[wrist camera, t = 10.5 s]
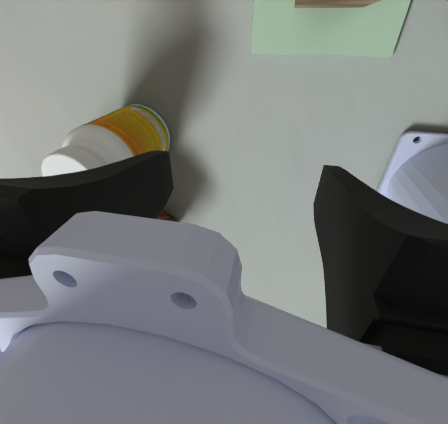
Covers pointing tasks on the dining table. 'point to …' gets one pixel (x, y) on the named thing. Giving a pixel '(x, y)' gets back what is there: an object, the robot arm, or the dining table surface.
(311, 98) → the dining table surface
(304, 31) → the tile
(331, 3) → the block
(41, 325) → the robot arm
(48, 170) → the supplement bottle
